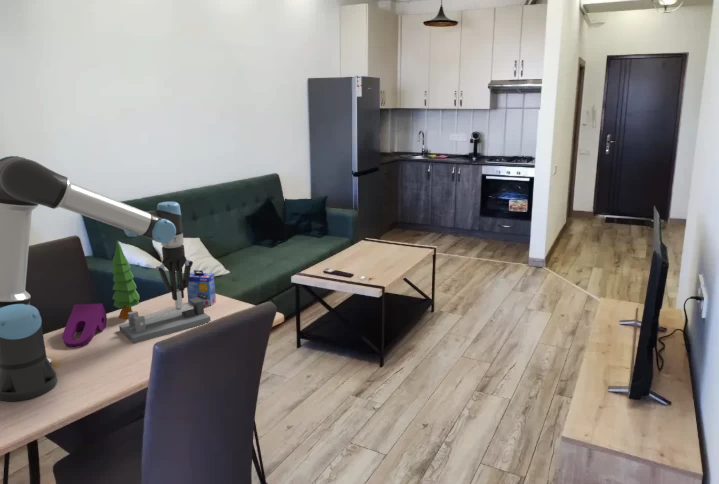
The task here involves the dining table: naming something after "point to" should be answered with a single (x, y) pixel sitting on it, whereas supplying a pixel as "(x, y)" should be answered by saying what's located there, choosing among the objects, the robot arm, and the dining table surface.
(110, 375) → the dining table surface
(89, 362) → the dining table surface
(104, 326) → the mounting bracket
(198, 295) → the ink cartridge box
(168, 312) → the grey long flat bar
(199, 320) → the latch base
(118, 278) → the decorative tree
